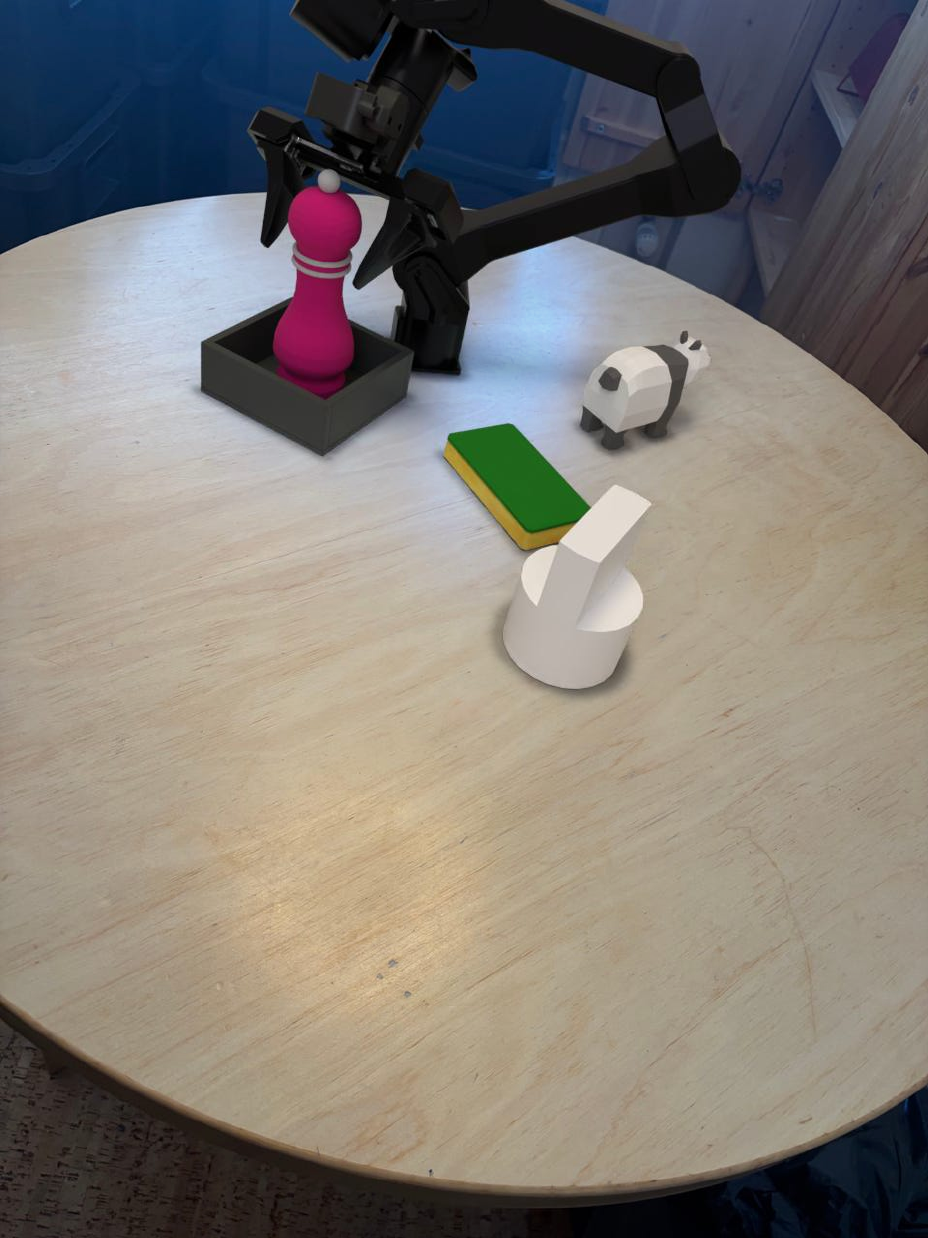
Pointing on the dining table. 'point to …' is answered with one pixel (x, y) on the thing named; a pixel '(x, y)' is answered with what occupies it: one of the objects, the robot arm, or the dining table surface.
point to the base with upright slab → (579, 597)
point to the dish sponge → (516, 484)
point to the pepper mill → (319, 289)
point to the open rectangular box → (250, 385)
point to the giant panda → (641, 388)
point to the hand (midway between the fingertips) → (309, 265)
